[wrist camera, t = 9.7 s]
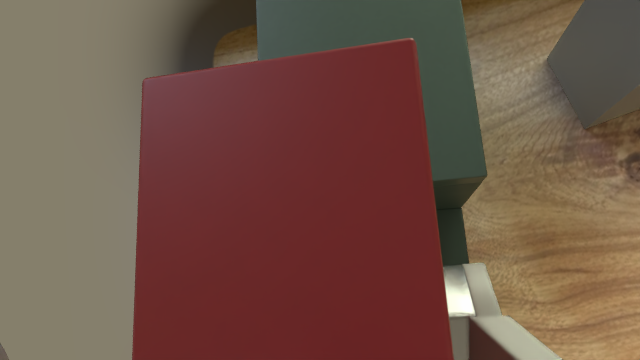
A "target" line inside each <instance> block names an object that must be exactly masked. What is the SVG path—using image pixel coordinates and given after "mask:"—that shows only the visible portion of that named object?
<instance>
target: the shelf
mask: <svg viewBox="0 0 640 360" xmlns="http://www.w3.org/2000/svg"><path fill="white" fill-rule="evenodd" d="M256 10H257V44H258V61H261V60H268V59H274V58H281V57H287V56H294V55H300V54H307V53H313V52H320V51H326V50H333V49H339V48H346V47H352V46H359V45H365V44H372V43H379V42H385V41H392V40H398V39H405V38H413V39H414V40H415V42H416V45H417V54H418V62H419V70H420V79H421V87H422V95H423V104H424V112H425V120H426V129H427V137H428V146H429V154H430V162H431V171H432V179H433V187H434V196H435V204H436V213H437V221H438V229H439V238H440V246H441V254H442V263H443V265H457V264H461V265H462V264H469V259H468V252H467V245H466V237H465V230H464V222H463V215H462V208H461V207H462V206H463V205H464V203H465V202H466V201H467V200H468V199H469V197H470V196H471V195H472V194H473V193H474V191H475V190H476V189H477V188H478V186H479V185H480V184H481V183H482V181H483V180H484V179H485V178H486V177H487V170H486V164H485V157H484V150H483V144H482V137H481V130H480V124H479V117H478V110H477V104H476V97H475V90H474V84H473V77H472V70H471V64H470V57H469V50H468V44H467V37H466V30H465V24H464V17H463V11H462V4H461V0H256Z"/></svg>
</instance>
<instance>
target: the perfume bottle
mask: <svg viewBox="0 0 640 360" xmlns="http://www.w3.org/2000/svg"><path fill="white" fill-rule="evenodd" d="M547 61H548V62H549V64H550V66H551V68H552V70H553V72H554V74H555V75H556V77H557V79H558V81H559V83H560V85H561V87H562V88H563V90H564V92H565V94H566V96H567V98H568V99H569V101H570V103H571V105H572V107H573V109H574V111H575V112H576V114H577V116H578V118H579V120H580V122H581V124H582V125H583V127H584V129H587V128H589V127H592V126H595V125H598V124H600V123H603V122H606V121H608V120H611V119H614V118H617V117H619V116H622V115H625V114H628V113H630V112H633V111H636V110H639V109H640V0H585V1H584V2H583V4H582V5H581V7H580V8H579V10H578V11H577V13H576V14H575V16H574V18H573V19H572V21H571V22H570V24H569V25H568V27H567V28H566V30H565V31H564V33H563V35H562V36H561V38H560V39H559V41H558V42H557V44H556V45H555V47H554V48H553V50H552V52H551V53H550V55H549V56H548V58H547Z"/></svg>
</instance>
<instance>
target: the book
mask: <svg viewBox="0 0 640 360" xmlns="http://www.w3.org/2000/svg"><path fill="white" fill-rule="evenodd" d="M132 360H454V355H453V347H452V338H451V330H450V321H449V313H448V305H447V296H446V288H445V280H444V271H443V263H442V254H441V246H440V238H439V229H438V221H437V213H436V204H435V196H434V187H433V179H432V171H431V162H430V154H429V146H428V137H427V129H426V120H425V112H424V104H423V95H422V87H421V79H420V70H419V62H418V54H417V45H416V42H415V40H414V39H413V38H405V39H398V40H392V41H385V42H379V43H372V44H365V45H359V46H352V47H346V48H339V49H333V50H326V51H320V52H313V53H307V54H300V55H294V56H287V57H281V58H274V59H268V60H261V61H254V62H248V63H241V64H235V65H228V66H222V67H215V68H209V69H202V70H196V71H190V72H183V73H176V74H170V75H163V76H157V77H150V78H146V79H144V80H143V83H142V110H141V137H140V165H139V191H138V217H137V245H136V273H135V298H134V325H133V352H132Z"/></svg>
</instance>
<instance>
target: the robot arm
mask: <svg viewBox="0 0 640 360" xmlns="http://www.w3.org/2000/svg"><path fill="white" fill-rule="evenodd" d="M443 271H444V280H445V288H446V296H447V305H448V313H449V321H450V330H451V338H452V347H453V355H454V360H563V359H561V358H560V357H559V356H558V355H557V354H555V353H554V352H553V351H552V350H550V349H549V348H548V347H547V346H546V345H544V344H543V343H542V342H541V341H539V340H538V339H537V338H536V337H535V336H533V335H532V334H531V333H530V332H528V331H527V330H526V329H525V328H524V327H522V326H521V325H520V324H519V323H517V322H516V321H515V320H514V319H513V318H511V317H510V316H502V313H501V310H500V307H499V304H498V301H497V298H496V295H495V292H494V289H493V286H492V283H491V280H490V277H489V274H488V271H487V268H486V265H485V264H484V263H470V264H462V265H461V264H457V265H443Z"/></svg>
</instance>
